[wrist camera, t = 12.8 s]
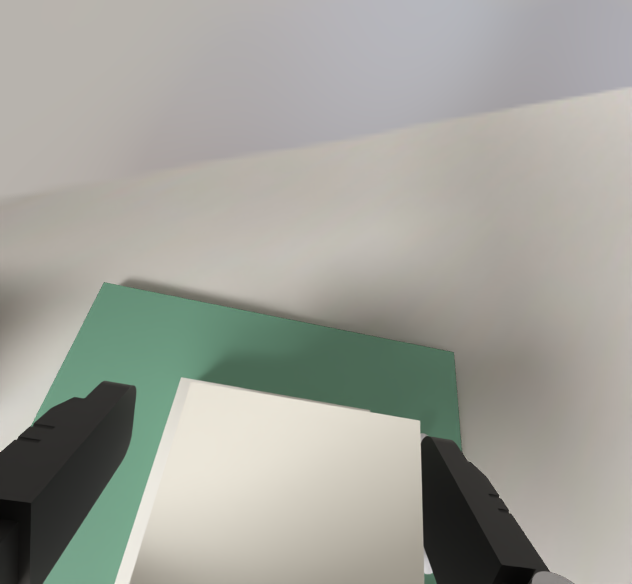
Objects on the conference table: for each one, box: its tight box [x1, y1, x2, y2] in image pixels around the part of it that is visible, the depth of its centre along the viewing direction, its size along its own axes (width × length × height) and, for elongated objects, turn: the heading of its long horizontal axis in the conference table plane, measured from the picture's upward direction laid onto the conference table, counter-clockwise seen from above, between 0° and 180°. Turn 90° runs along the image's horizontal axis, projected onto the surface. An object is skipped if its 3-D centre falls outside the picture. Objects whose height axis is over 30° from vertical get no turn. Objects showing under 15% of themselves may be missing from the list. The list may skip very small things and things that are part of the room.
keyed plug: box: [129, 381, 424, 584], centre depth 9 cm, size 4×4×10 cm
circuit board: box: [31, 282, 462, 584], centre depth 14 cm, size 18×14×3 cm
